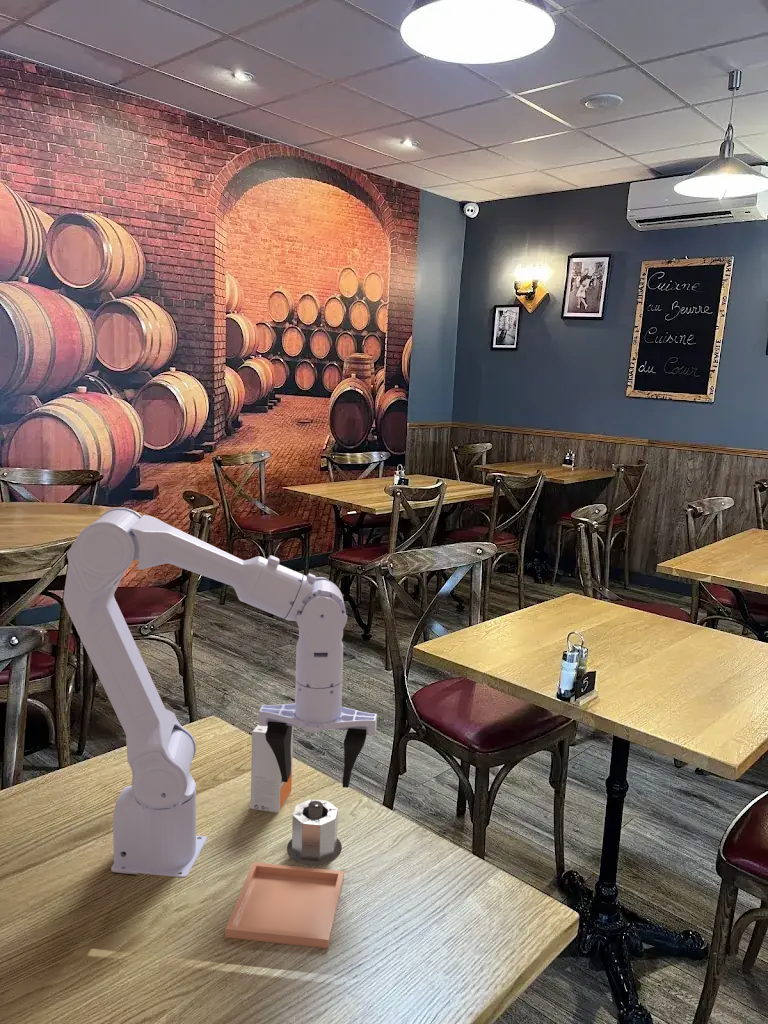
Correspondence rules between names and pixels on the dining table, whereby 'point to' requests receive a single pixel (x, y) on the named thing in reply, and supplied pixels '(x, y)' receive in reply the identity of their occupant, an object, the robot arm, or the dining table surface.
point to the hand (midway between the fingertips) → (316, 780)
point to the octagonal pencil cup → (314, 832)
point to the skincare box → (267, 775)
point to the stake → (316, 813)
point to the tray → (287, 905)
